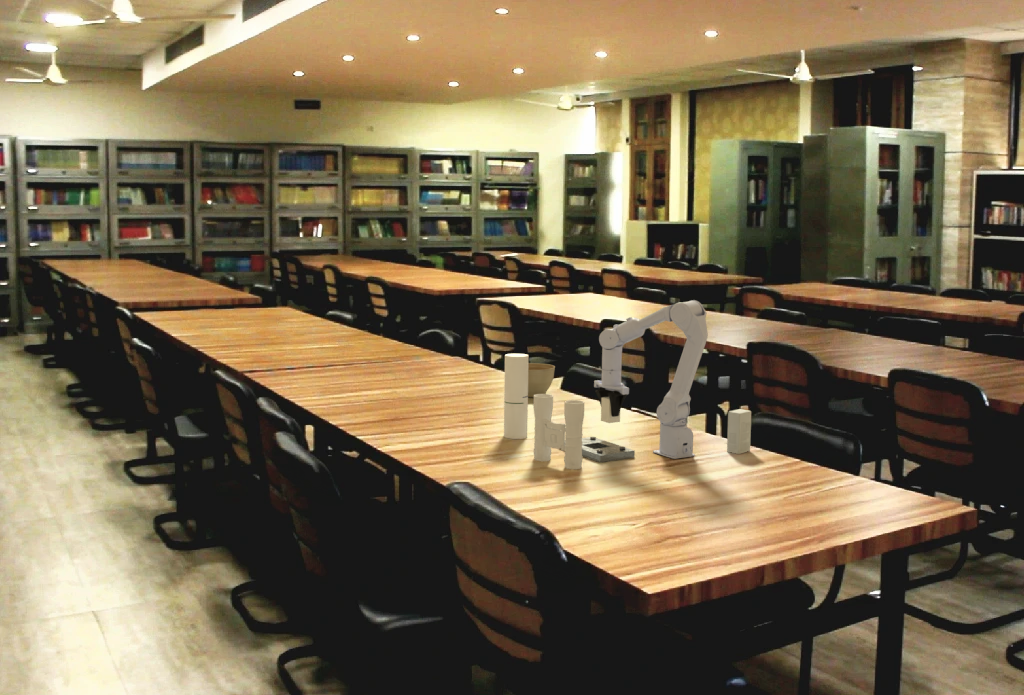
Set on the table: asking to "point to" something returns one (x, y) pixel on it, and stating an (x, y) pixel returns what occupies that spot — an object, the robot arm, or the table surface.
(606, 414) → the cream rectangular block
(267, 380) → the table surface
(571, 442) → the binoculars
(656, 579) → the table surface
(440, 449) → the table surface
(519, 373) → the cylindrical container
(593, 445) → the strike plate
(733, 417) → the skincare box
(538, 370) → the planter bowl
